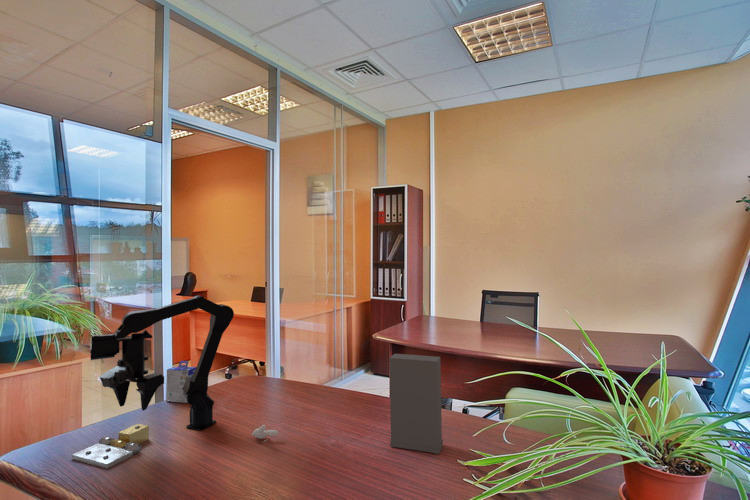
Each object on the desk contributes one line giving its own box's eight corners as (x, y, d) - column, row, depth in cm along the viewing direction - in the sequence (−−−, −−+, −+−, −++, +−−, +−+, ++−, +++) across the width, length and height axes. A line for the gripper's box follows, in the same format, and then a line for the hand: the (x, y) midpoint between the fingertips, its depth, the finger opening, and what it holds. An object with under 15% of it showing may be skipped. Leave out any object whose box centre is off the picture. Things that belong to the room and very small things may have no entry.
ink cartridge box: (198, 398, 147) (198, 360, 148) (188, 403, 142) (188, 364, 142) (175, 396, 149) (175, 359, 150) (165, 401, 144) (165, 363, 144)
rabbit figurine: (263, 433, 116) (280, 426, 113) (261, 447, 114) (278, 440, 110) (247, 428, 113) (264, 420, 110) (244, 442, 110) (262, 434, 107)
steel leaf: (141, 451, 106) (141, 442, 106) (107, 468, 97) (107, 459, 98) (107, 443, 111) (107, 435, 111) (71, 459, 102) (71, 450, 103)
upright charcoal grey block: (443, 444, 108) (441, 356, 109) (439, 454, 102) (437, 361, 103) (396, 437, 112) (395, 352, 113) (390, 447, 107) (389, 358, 107)
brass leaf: (148, 439, 114) (148, 424, 114) (121, 452, 106) (121, 437, 106) (137, 437, 115) (138, 422, 115) (110, 450, 107) (110, 434, 107)
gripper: (83, 358, 108) (82, 414, 107) (129, 364, 101) (128, 423, 101) (121, 350, 118) (121, 400, 118) (165, 354, 112) (165, 408, 111)
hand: (132, 408), depth 112 cm, fingers open, 9 cm apart
